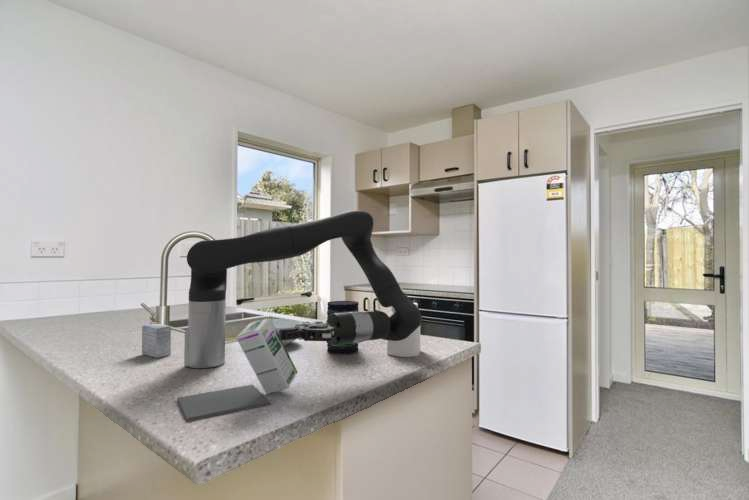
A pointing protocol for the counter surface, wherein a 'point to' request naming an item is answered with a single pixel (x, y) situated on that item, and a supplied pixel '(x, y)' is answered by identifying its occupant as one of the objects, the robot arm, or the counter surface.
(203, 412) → the mat
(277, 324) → the cereal bowl
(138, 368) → the counter surface
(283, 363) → the syrup box
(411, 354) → the jar
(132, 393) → the counter surface
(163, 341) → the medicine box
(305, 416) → the counter surface
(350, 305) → the storage jar
